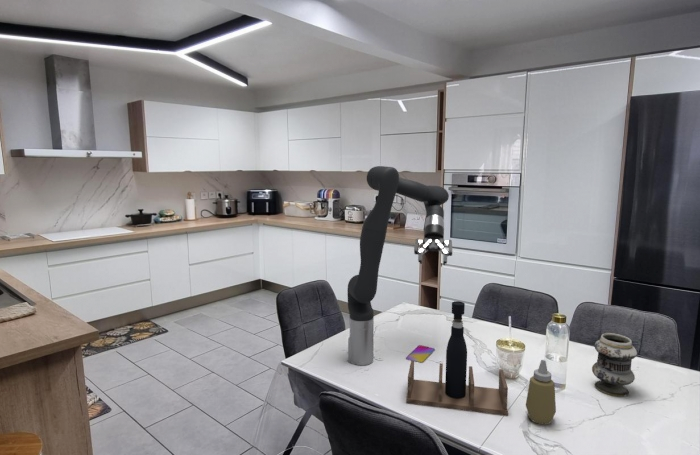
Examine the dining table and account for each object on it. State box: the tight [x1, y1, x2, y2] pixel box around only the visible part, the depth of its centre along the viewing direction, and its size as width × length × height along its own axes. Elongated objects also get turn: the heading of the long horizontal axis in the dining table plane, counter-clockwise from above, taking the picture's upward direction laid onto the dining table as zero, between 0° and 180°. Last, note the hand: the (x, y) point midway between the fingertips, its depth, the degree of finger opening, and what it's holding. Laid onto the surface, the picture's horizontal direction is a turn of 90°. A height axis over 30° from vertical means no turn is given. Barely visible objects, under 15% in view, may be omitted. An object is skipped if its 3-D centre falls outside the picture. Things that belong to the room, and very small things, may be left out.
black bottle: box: [444, 300, 468, 399], centre depth 130 cm, size 6×6×30 cm
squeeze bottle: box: [525, 359, 557, 425], centre depth 119 cm, size 8×8×18 cm
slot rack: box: [405, 360, 509, 417], centre depth 131 cm, size 30×13×8 cm, turn 77°
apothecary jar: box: [591, 332, 638, 397], centre depth 136 cm, size 12×12×18 cm
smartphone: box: [405, 344, 436, 364], centre depth 165 cm, size 7×1×15 cm
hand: (432, 263), depth 153 cm, fingers open, 8 cm apart
